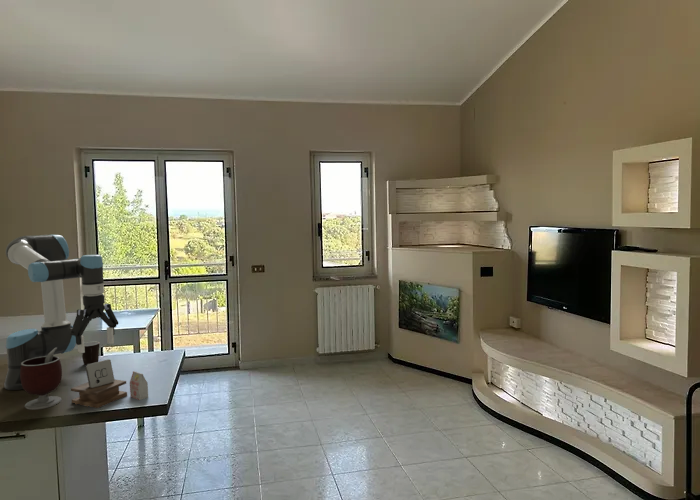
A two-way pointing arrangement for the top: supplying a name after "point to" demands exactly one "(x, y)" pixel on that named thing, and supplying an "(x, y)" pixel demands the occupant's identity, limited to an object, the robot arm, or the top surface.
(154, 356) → the top surface
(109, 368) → the electrical switch
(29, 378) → the mate gourd
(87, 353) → the coffee mug
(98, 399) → the walnut stand
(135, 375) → the milk carton
